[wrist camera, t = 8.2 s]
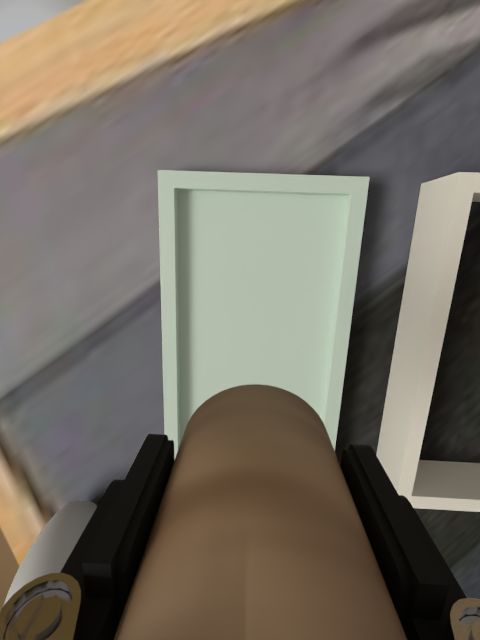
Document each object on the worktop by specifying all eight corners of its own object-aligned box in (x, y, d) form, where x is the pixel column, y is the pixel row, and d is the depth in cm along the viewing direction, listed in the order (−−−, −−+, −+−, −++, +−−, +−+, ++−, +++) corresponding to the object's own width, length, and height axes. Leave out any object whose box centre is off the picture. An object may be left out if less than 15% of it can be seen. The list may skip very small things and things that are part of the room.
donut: (77, 468, 28) (-16, 592, 18) (116, 477, 28) (44, 604, 18) (66, 555, 30) (-20, 704, 21) (102, 563, 31) (33, 715, 21)
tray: (325, 465, 27) (331, 481, 25) (171, 456, 27) (165, 471, 26) (360, 181, 21) (369, 177, 20) (165, 175, 22) (157, 170, 20)
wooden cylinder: (321, 515, 12) (463, 1081, 4) (182, 507, 12) (48, 1041, 4) (337, 388, 10) (600, 854, 3) (181, 380, 10) (-21, 804, 3)
